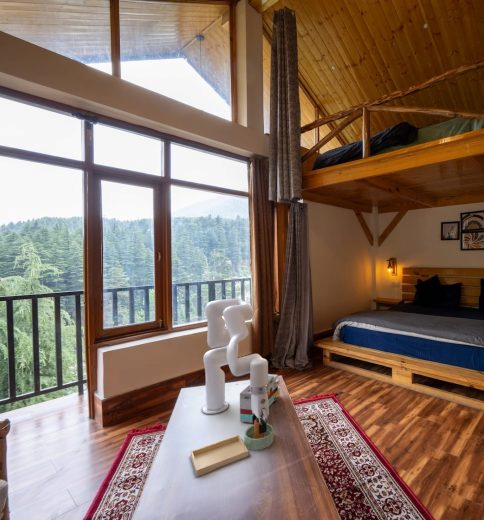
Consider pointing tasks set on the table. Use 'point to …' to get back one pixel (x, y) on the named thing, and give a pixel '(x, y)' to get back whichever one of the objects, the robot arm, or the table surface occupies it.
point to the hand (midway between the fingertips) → (259, 427)
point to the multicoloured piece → (246, 398)
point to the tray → (218, 455)
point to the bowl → (258, 443)
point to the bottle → (257, 429)
